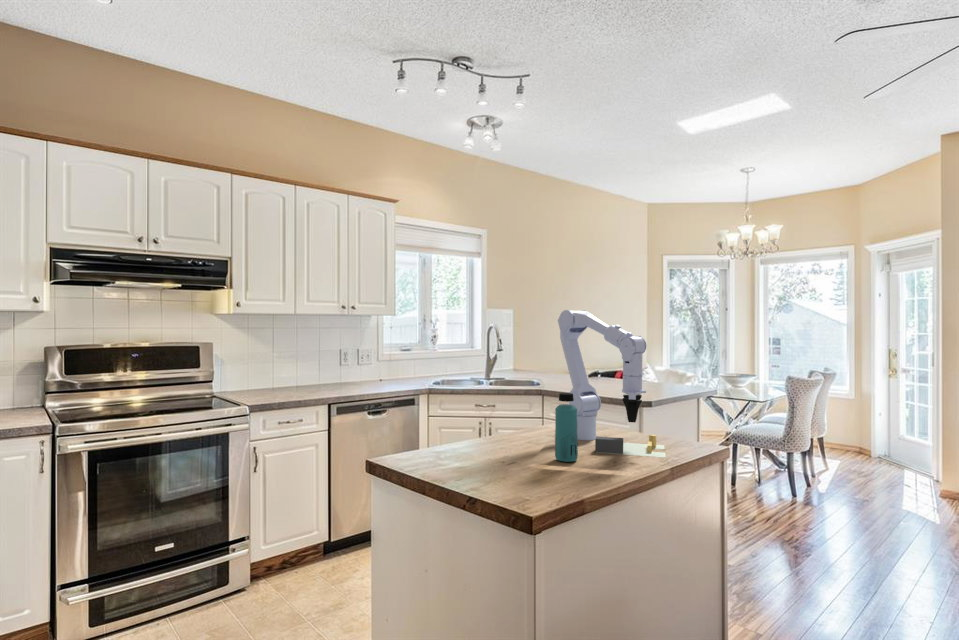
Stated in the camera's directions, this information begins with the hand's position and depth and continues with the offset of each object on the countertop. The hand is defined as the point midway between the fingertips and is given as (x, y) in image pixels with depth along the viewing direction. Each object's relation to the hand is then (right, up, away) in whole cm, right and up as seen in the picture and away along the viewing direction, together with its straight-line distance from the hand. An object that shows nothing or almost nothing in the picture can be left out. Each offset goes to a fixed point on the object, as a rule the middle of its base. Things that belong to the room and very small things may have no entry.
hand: (632, 419), depth 170 cm
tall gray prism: (-8, -9, -4) cm, 12 cm away
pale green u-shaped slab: (0, -10, 0) cm, 10 cm away
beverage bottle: (-22, -10, -14) cm, 28 cm away
